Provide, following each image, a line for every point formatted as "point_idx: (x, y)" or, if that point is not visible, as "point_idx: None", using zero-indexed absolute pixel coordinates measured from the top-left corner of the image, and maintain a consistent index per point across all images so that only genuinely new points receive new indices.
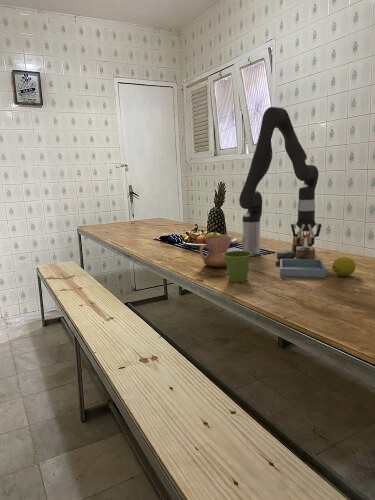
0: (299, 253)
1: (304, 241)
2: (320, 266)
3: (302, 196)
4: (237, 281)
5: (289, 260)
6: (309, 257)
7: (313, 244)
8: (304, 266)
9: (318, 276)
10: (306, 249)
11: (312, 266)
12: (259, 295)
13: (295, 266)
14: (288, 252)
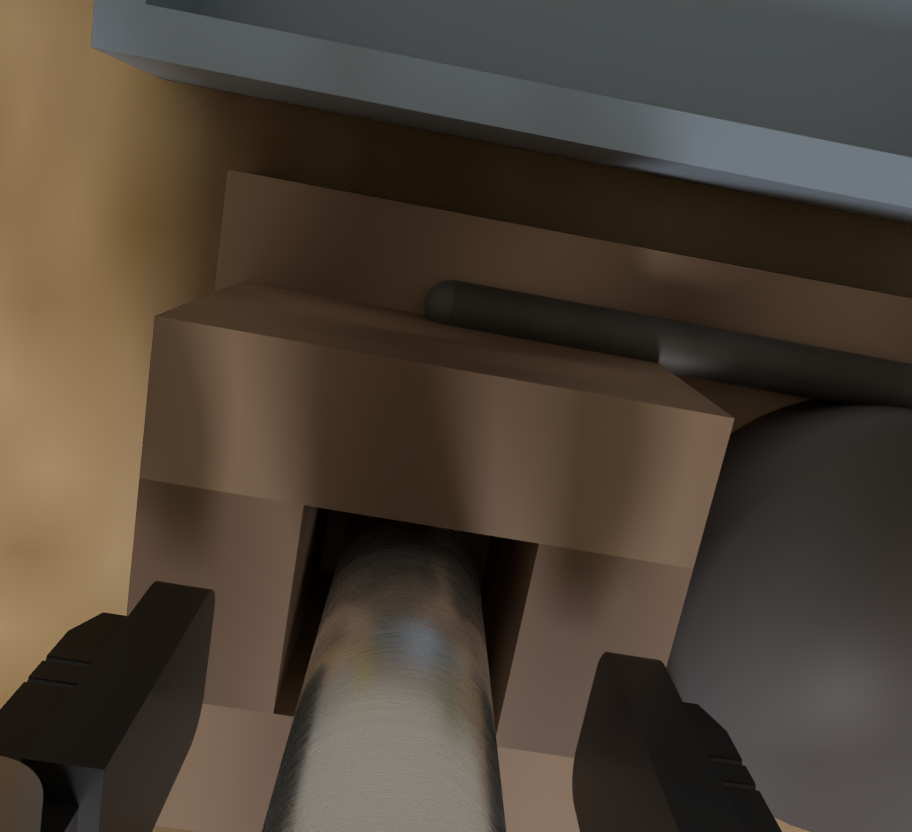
0: (626, 382)
1: (457, 716)
2: None
3: None
4: None
5: (903, 160)
6: (356, 314)
7: (114, 618)
8: (539, 38)
9: None
10: (412, 453)
11: (362, 14)
12: None
13: (736, 60)
14: (844, 616)
